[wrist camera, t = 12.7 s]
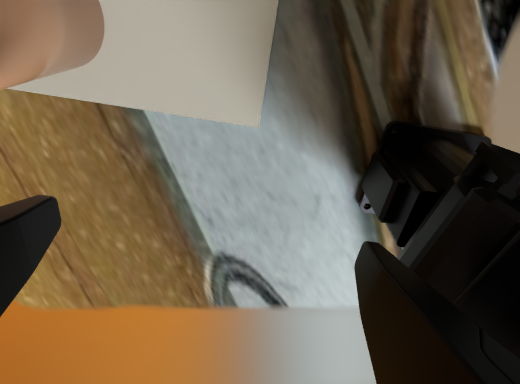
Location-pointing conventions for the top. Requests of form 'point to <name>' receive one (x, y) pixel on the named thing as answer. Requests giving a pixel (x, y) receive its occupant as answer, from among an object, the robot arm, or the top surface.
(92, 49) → the canister
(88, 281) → the top surface
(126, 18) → the mat
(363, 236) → the top surface
